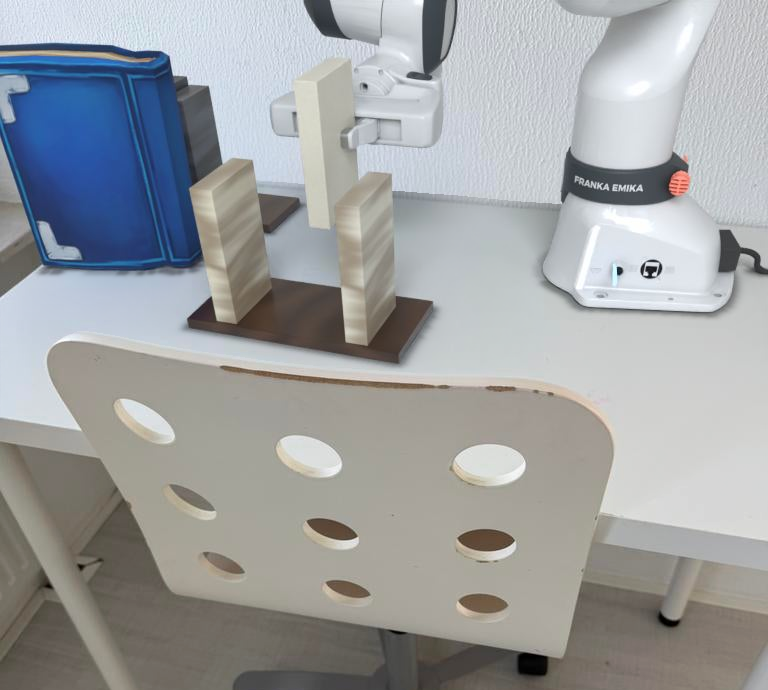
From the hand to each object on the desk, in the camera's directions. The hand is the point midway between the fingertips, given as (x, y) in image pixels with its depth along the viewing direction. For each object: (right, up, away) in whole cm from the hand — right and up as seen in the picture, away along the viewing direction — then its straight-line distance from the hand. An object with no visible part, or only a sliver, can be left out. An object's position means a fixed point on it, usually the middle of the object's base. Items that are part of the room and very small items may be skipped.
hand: (329, 140), depth 84 cm
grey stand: (-16, +3, +29) cm, 33 cm away
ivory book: (0, -6, +6) cm, 8 cm away
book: (-28, -7, +19) cm, 35 cm away
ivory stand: (-2, -18, +6) cm, 19 cm away
